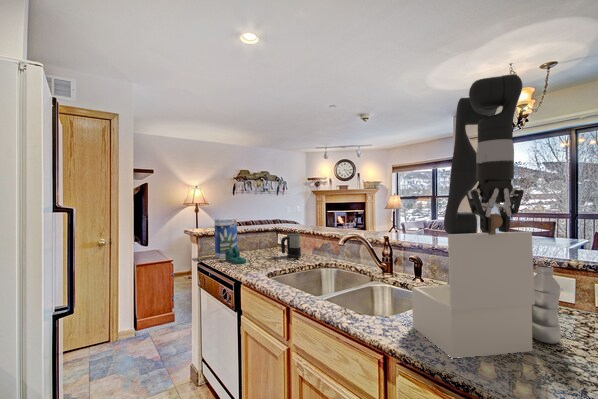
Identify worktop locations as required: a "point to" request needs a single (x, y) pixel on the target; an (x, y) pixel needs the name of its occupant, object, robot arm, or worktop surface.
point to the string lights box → (225, 236)
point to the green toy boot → (234, 256)
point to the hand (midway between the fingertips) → (494, 231)
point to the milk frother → (292, 245)
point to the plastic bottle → (545, 306)
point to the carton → (470, 325)
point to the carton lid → (491, 268)
